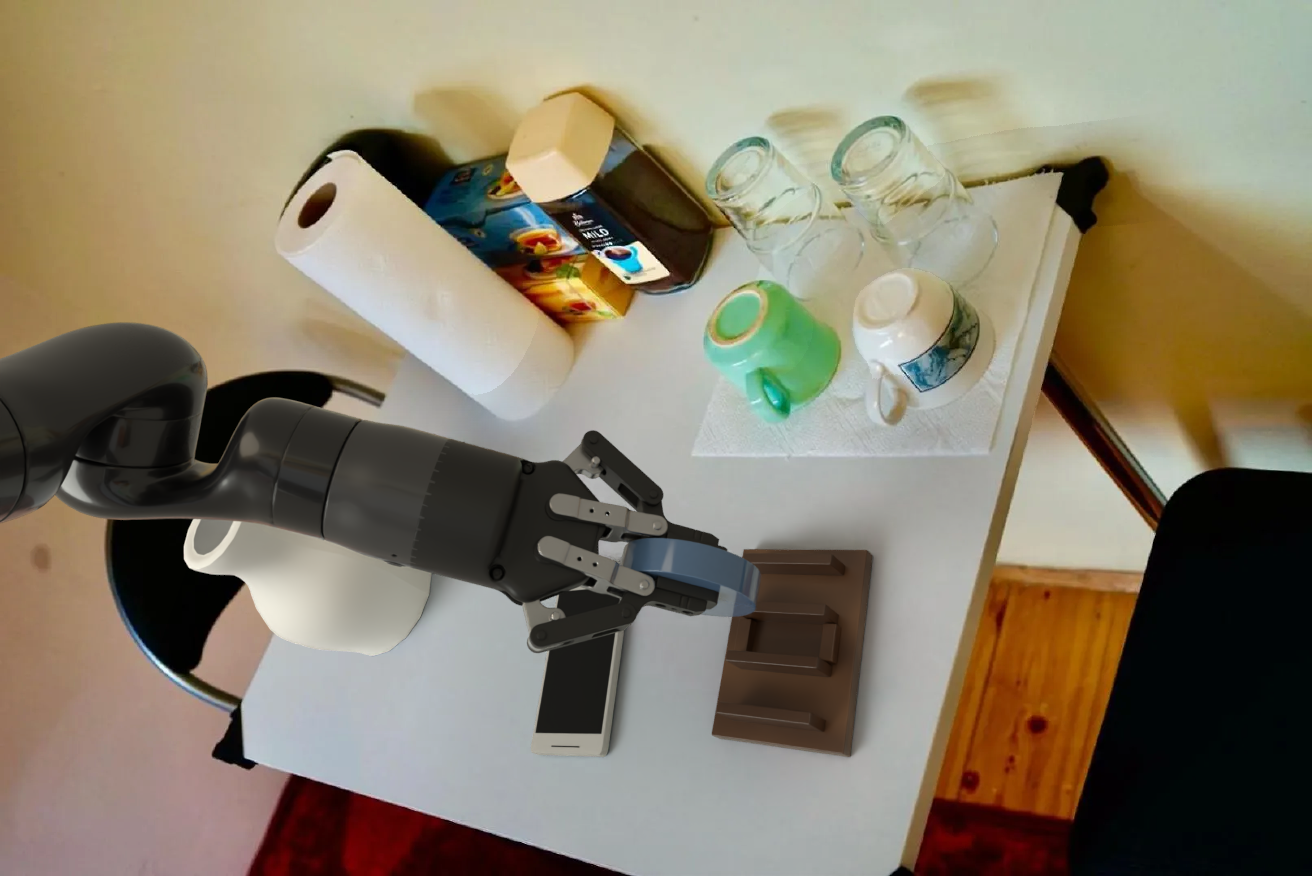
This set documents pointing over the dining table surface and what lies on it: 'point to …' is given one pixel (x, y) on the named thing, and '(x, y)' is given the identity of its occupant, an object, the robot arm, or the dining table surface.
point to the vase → (313, 585)
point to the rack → (797, 652)
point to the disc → (699, 571)
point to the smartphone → (578, 687)
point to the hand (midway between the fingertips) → (717, 578)
